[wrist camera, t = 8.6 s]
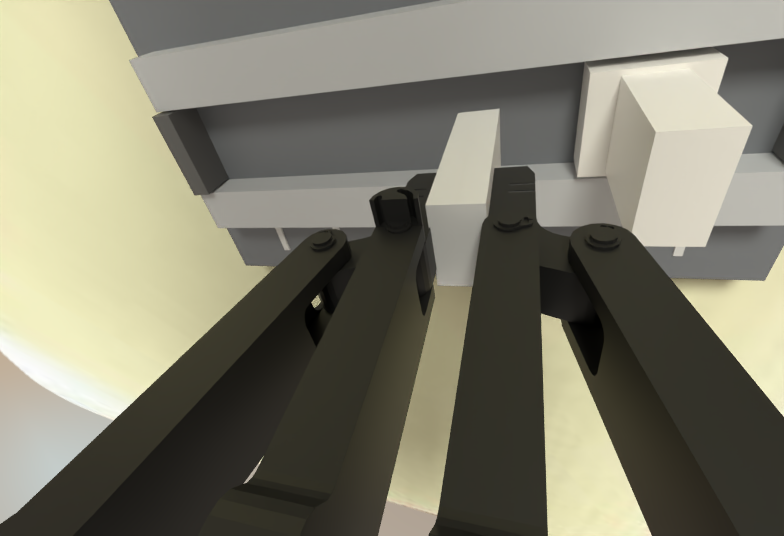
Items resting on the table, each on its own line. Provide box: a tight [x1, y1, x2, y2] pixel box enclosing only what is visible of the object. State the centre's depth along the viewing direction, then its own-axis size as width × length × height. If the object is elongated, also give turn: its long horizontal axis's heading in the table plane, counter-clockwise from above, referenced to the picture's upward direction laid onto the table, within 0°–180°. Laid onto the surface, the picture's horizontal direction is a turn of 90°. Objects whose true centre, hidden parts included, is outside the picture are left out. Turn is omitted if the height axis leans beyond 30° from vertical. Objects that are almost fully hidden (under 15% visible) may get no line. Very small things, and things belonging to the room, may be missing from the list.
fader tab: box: [574, 47, 752, 247], centre depth 13 cm, size 4×4×7 cm
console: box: [109, 0, 784, 281], centre depth 18 cm, size 18×30×4 cm, turn 100°
